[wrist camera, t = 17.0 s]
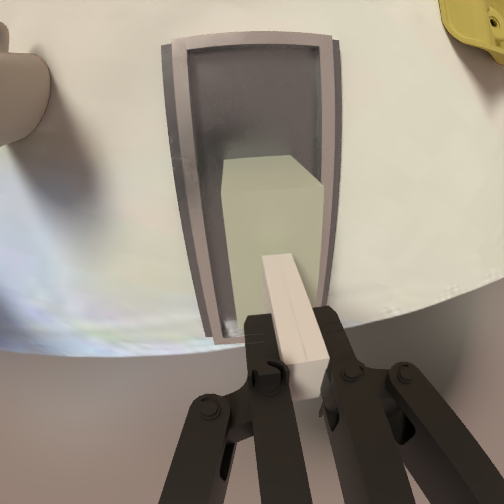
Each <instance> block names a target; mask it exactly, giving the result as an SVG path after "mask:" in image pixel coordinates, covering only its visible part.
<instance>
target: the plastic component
mask: <svg viewBox="0 0 504 504" xmlns="http://www.w3.org/2000/svg"><path fill="white" fill-rule="evenodd" d="M439 4H440V10H441V18H442V22H443V24H444V26H445V28H446V29H447V30H448V32H449V33H450V34H451V35H452V36H453V37H455V38H456V39H457V40H459V41H460V42H462V43H464V44H466V45H470V46H474V47H478V48H481V49H483V50H486V51H488V52H489V53H490V54H491V55H492V57H493V58H494V59H495V61H496V62H497V63H498V64H501V65H504V0H439ZM490 19H491V20H492V24H493V26H492V25H491V23H490Z"/></svg>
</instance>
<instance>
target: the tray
mask: <svg viewBox="0 0 504 504" xmlns="http://www.w3.org/2000/svg"><path fill="white" fill-rule="evenodd" d="M161 54H162V70H163V84H164V96H165V107H166V117H167V126H168V135H169V143H170V151H171V159H172V166H173V173H174V180H175V187H176V193H177V200H178V206H179V212H180V218H181V223H182V229H183V234H184V240H185V245H186V250H187V255H188V260H189V265H190V270H191V275H192V280H193V284H194V289H195V293H196V298H197V302H198V307H199V311H200V315H201V319H202V323H203V328H204V332H205V336H206V337H213V340H214V344H215V345H219V344H233V343H245V336H244V329H238V323H237V316H236V309H235V302H234V295H233V287H232V280H231V272H230V265H229V257H228V249H227V241H226V233H225V225H224V216H223V208H222V199H221V187H222V175H223V164H224V160H228V159H238V158H250V157H264V156H282V155H291V156H292V157H293V158H294V159H295V160H297V161H298V162H299V163H300V164H301V165H302V166H303V167H304V168H305V169H306V170H307V171H308V172H310V173H311V174H312V175H313V176H314V177H315V178H316V179H317V180H318V181H319V182H320V183H321V184H322V185H323V186H324V203H323V224H322V240H321V255H320V267H319V278H318V289H317V299H316V307H321V306H326V303H327V297H328V290H329V283H330V275H331V268H332V259H333V251H334V242H335V232H336V222H337V210H338V197H339V181H340V161H341V68H340V49H339V40H332V36H330V35H322V34H312V33H300V32H279V31H250V32H229V33H217V34H207V35H198V36H191V37H184V38H178V39H172V40H171V44H167V45H162V46H161Z"/></svg>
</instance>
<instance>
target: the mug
mask: <svg viewBox="0 0 504 504" xmlns="http://www.w3.org/2000/svg"><path fill="white" fill-rule="evenodd" d="M8 49H9V31H8V28H7V26H6V25H5V24H3V23H2V22H0V147H1V146H3V145H6V144H9V143H12V142H15V141H18V140H20V139H23V138H24V137H26V136H27V135H29V134H30V133H31V132H32V131H33V130H34V129H35V128H36V126H37V125H38V124H39V122H40V121H41V119H42V117H43V115H44V112H45V110H46V107H47V104H48V100H49V95H50V86H51V85H50V74H49V70H48V67H47V65H46V63H45V62H44V61H43V59H41V58H40V57H39V56H36V55H34V54H27V53H9V52H8Z"/></svg>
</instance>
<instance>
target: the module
mask: <svg viewBox="0 0 504 504" xmlns="http://www.w3.org/2000/svg"><path fill="white" fill-rule="evenodd" d="M221 199H222V208H223V216H224V225H225V233H226V241H227V249H228V257H229V265H230V272H231V280H232V287H233V295H234V302H235V309H236V316H237V323H238V329H244V323H245V320H246V318H247V316H248V315H258V314H266V311H265V306H264V300H263V281H262V256H265V255H276V254H288V253H291V254H292V256H293V259H294V262H295V264H296V267H297V269H298V272H299V275H300V277H301V280H302V283H303V285H304V288H305V291H306V293H307V296H308V299H309V301H310V304H311V307H312V308H314V307H316V299H317V289H318V278H319V267H320V255H321V240H322V224H323V203H324V186H323V185H322V184H321V183H320V182H319V181H318V180H317V179H316V178H315V177H314V176H313V175H312V174H311V173H310V172H308V171H307V170H306V169H305V168H304V167H303V166H302V165H301V164H300V163H299V162H298V161H297V160H295V159H294V158H293V157H292V156H291V155H282V156H264V157H250V158H238V159H228V160H224V164H223V175H222V187H221Z"/></svg>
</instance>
